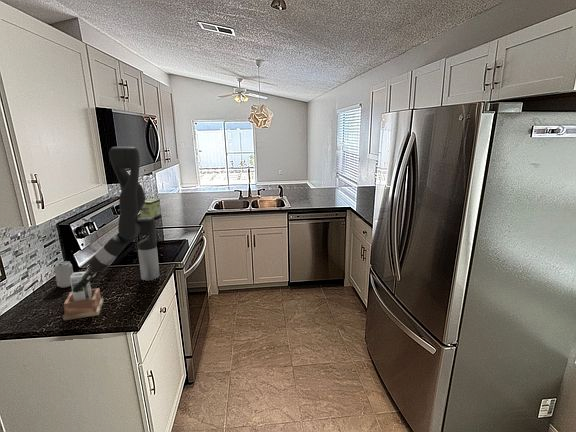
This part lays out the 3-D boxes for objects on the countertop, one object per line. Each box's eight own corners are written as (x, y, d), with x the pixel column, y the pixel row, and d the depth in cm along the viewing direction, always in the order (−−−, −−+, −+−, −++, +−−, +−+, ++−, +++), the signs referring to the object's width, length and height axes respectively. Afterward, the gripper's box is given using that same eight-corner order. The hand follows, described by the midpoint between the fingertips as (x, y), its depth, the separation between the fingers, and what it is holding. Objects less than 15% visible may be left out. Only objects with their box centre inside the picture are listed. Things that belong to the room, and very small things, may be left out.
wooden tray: (71, 305, 151) (69, 291, 149) (103, 300, 155) (101, 286, 154) (63, 320, 139) (60, 305, 138) (98, 315, 144) (96, 300, 142)
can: (56, 284, 171) (52, 262, 167) (73, 280, 175) (70, 259, 172) (58, 289, 165) (54, 267, 162) (76, 285, 170) (72, 263, 167)
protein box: (140, 219, 289) (138, 201, 285) (151, 215, 303) (149, 198, 299) (151, 220, 287) (149, 202, 282) (161, 215, 301) (160, 198, 297)
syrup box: (74, 308, 143) (69, 277, 139) (78, 301, 149) (73, 271, 145) (89, 306, 145) (84, 276, 141) (93, 300, 150) (88, 270, 146)
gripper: (98, 248, 150) (72, 276, 149) (92, 259, 137) (63, 290, 136) (113, 257, 153) (88, 285, 152) (108, 270, 140) (80, 300, 139)
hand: (76, 287), depth 144 cm, fingers closed on syrup box, 6 cm apart
